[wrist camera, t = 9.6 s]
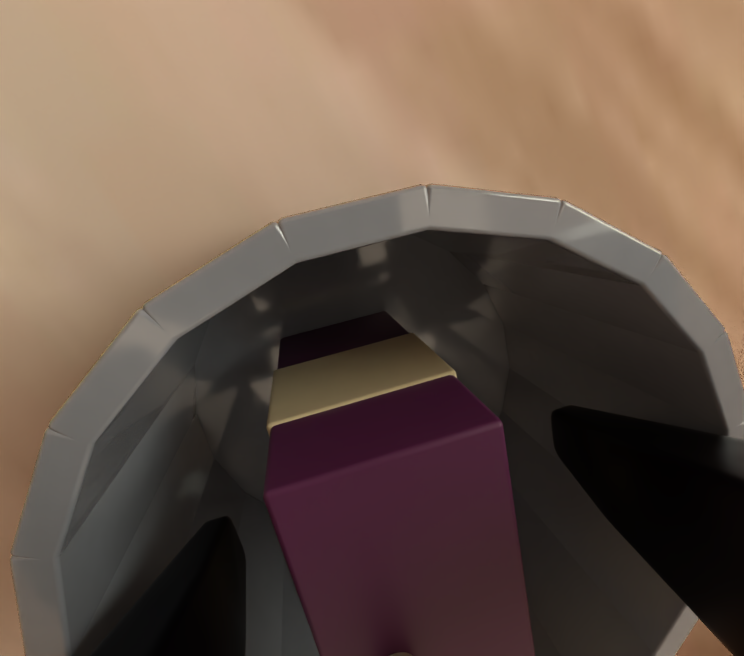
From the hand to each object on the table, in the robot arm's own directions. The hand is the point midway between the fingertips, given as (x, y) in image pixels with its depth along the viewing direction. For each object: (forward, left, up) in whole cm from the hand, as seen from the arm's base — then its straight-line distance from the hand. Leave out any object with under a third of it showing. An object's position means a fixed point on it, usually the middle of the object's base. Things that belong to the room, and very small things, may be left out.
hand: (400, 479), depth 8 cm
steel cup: (0, 0, -5) cm, 5 cm away
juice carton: (0, 0, -5) cm, 5 cm away
